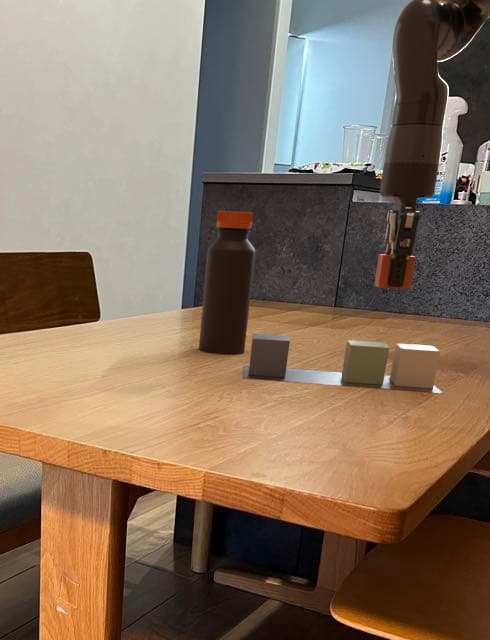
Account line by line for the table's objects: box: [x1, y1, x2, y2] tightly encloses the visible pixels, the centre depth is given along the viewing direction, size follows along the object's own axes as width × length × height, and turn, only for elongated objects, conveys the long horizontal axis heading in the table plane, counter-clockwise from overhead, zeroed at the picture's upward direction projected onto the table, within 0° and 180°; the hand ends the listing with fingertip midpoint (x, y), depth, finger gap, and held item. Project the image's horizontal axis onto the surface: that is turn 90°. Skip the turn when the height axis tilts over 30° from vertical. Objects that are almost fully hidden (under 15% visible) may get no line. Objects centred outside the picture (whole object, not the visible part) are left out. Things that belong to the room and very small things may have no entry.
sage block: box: [342, 339, 390, 385], centre depth 109 cm, size 5×5×5 cm
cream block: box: [389, 342, 441, 389], centre depth 108 cm, size 5×5×5 cm
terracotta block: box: [374, 253, 416, 290], centre depth 128 cm, size 5×5×5 cm
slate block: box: [248, 333, 291, 378], centre depth 110 cm, size 5×5×5 cm
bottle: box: [198, 210, 256, 356], centre depth 125 cm, size 7×7×20 cm
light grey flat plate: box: [242, 365, 444, 395], centre depth 110 cm, size 24×10×1 cm, turn 79°
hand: (392, 284), depth 129 cm, fingers closed on terracotta block, 4 cm apart
